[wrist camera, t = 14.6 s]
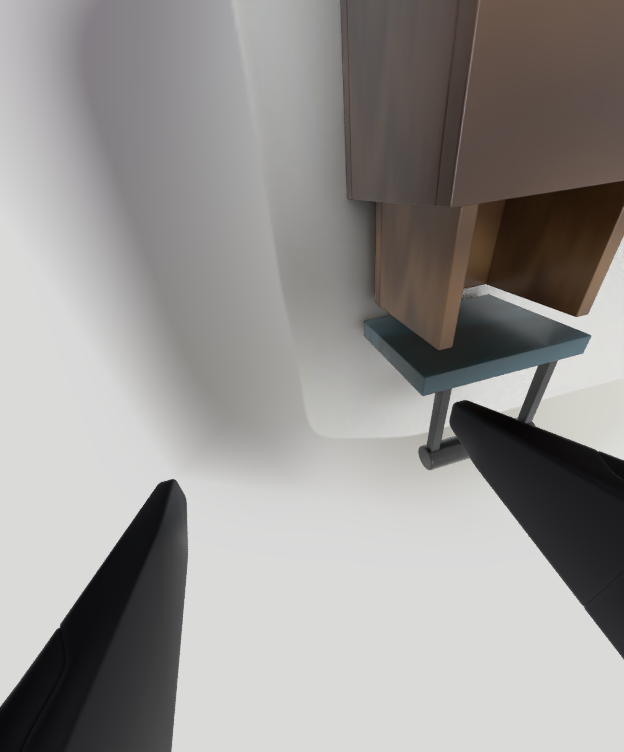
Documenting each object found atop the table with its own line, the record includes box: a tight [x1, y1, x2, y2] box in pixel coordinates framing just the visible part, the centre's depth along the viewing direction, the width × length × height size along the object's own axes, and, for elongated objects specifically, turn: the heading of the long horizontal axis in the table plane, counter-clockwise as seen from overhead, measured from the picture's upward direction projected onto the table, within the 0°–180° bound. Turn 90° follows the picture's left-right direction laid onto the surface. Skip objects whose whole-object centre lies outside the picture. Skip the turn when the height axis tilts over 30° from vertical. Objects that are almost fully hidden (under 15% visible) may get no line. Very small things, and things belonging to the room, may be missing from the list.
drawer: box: [364, 181, 624, 470], centre depth 18 cm, size 19×10×8 cm, turn 6°
